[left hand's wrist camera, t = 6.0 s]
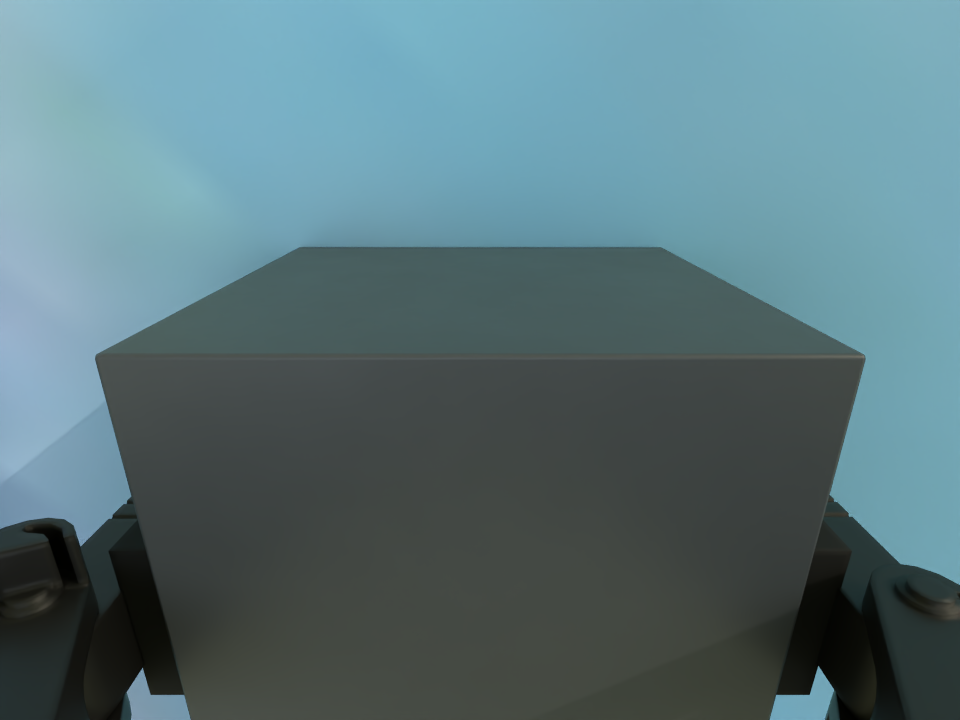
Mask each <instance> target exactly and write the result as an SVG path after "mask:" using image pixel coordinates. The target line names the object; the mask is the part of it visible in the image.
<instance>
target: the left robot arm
mask: <svg viewBox="0 0 960 720" xmlns="http://www.w3.org/2000/svg"><path fill="white" fill-rule="evenodd" d="M818 666H819V667H820V669H821V670H822V672H823V673H824V675H825V676H826V678H827V679H828V681H829V682H830V684H831V685H832V687H833V688H834V692H833V696H832V699H831V702H830V705H829V708H828V711H827V714H826V718H825V720H960V585H958V584H956V583H954V582H953V581H951V580H949V579H947V578H945V577H943V576H941V575H939V574H937V573H934V572H931V571H928V570H925V569H922V568H919V567H915V566H909V565H902V564H900V563H899V562H898V561H897V560H896V559H895V558H894V557H892V556H891V555H890V554H889V553H888V552H887V551H886V550H885V549H884V548H883V547H882V546H881V545H880V544H879V543H878V542H877V541H876V540H875V539H874V538H873V537H872V536H871V535H870V534H869V533H868V532H867V531H866V530H865V529H864V528H863V527H862V526H861V525H860V524H859V523H858V522H857V521H856V520H855V519H854V518H853V517H849V515H848V512H847V511H846V510H845V509H844V508H843V507H842V506H841V505H840V504H839V503H837V502H834V499H833V498H832V497H831V496H830V495H829V498H828V502H827V506H826V509H825V513H824V517H823V521H822V524H821V528H820V532H819V536H818V540H817V543H816V547H815V551H814V555H813V558H812V562H811V566H810V570H809V573H808V577H807V581H806V585H805V588H804V592H803V596H802V600H801V603H800V607H799V611H798V615H797V618H796V622H795V626H794V630H793V633H792V637H791V641H790V645H789V648H788V652H787V656H786V660H785V663H784V667H783V671H782V675H781V678H780V682H779V686H778V690H777V693H776V695H810V692H811V688H812V685H813V682H814V678H815V675H816V671H817V668H818ZM142 668H143V670H144V673H145V677H146V680H147V683H148V687H149V690H150V694H151V695H184V692H183V688H182V684H181V680H180V677H179V673H178V669H177V665H176V661H175V658H174V654H173V650H172V646H171V643H170V639H169V635H168V631H167V628H166V624H165V620H164V616H163V613H162V609H161V605H160V601H159V598H158V594H157V590H156V586H155V582H154V579H153V575H152V571H151V567H150V564H149V560H148V556H147V552H146V549H145V545H144V541H143V537H142V534H141V530H140V526H139V522H138V519H137V515H136V511H135V507H134V503H133V500H132V497H130V498H129V499H128V500H127V504H123V505H122V506H121V507H120V508H119V509H118V510H117V511H116V512H115V513H114V514H113V518H112V519H108V520H107V521H106V522H105V523H104V524H103V525H102V526H101V527H100V528H99V529H98V530H97V531H96V532H95V533H94V534H93V535H92V536H91V537H90V538H89V539H88V540H87V541H86V542H85V543H84V544H83V545H82V546H81V547H80V544H79V541H78V538H77V535H76V532H75V529H74V525H72V524H71V523H69V522H67V521H66V520H64V519H55V518H44V519H36V520H29V521H25V522H21V523H18V524H15V525H11V526H8V527H4V528H2V529H0V720H131V708H130V702H129V699H128V696H127V691H128V689H129V687H130V686H131V684H132V683H133V681H134V680H135V678H136V677H137V675H138V674H139V672H140V671H141V669H142Z"/></svg>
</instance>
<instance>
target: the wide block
mask: <svg viewBox="0 0 960 720" xmlns="http://www.w3.org/2000/svg"><path fill="white" fill-rule="evenodd" d="M95 360H96V364H97V368H98V372H99V376H100V379H101V383H102V387H103V391H104V394H105V398H106V402H107V406H108V409H109V413H110V417H111V421H112V424H113V428H114V432H115V436H116V440H117V443H118V447H119V451H120V455H121V458H122V462H123V466H124V470H125V473H126V477H127V481H128V485H129V488H130V492H131V496H132V500H133V503H134V507H135V511H136V515H137V519H138V522H139V526H140V530H141V534H142V537H143V541H144V545H145V549H146V552H147V556H148V560H149V564H150V567H151V571H152V575H153V579H154V582H155V586H156V590H157V594H158V598H159V601H160V605H161V609H162V613H163V616H164V620H165V624H166V628H167V631H168V635H169V639H170V643H171V646H172V650H173V654H174V658H175V661H176V665H177V669H178V673H179V677H180V680H181V684H182V688H183V692H184V695H185V699H186V703H187V707H188V710H189V714H190V718H191V720H770V716H771V712H772V708H773V705H774V701H775V697H776V693H777V690H778V686H779V682H780V678H781V675H782V671H783V667H784V663H785V660H786V656H787V652H788V648H789V645H790V641H791V637H792V633H793V630H794V626H795V622H796V618H797V615H798V611H799V607H800V603H801V600H802V596H803V592H804V588H805V585H806V581H807V577H808V573H809V570H810V566H811V562H812V558H813V555H814V551H815V547H816V543H817V540H818V536H819V532H820V528H821V524H822V521H823V517H824V513H825V509H826V506H827V502H828V498H829V494H830V491H831V487H832V483H833V479H834V476H835V472H836V468H837V464H838V461H839V457H840V453H841V449H842V446H843V442H844V438H845V434H846V431H847V427H848V423H849V419H850V416H851V412H852V408H853V404H854V401H855V397H856V393H857V389H858V386H859V382H860V378H861V374H862V371H863V367H864V363H865V356H864V354H862V353H860V352H858V351H856V350H854V349H852V348H850V347H848V346H847V345H845V344H843V343H841V342H839V341H837V340H835V339H833V338H831V337H830V336H828V335H826V334H824V333H822V332H820V331H818V330H816V329H814V328H812V327H811V326H809V325H807V324H805V323H803V322H801V321H799V320H797V319H795V318H794V317H792V316H790V315H788V314H786V313H784V312H782V311H780V310H778V309H777V308H775V307H773V306H771V305H769V304H767V303H765V302H763V301H761V300H759V299H758V298H756V297H754V296H752V295H750V294H748V293H746V292H744V291H742V290H741V289H739V288H737V287H735V286H733V285H731V284H729V283H727V282H725V281H724V280H722V279H720V278H718V277H716V276H714V275H712V274H710V273H708V272H706V271H705V270H703V269H701V268H699V267H697V266H695V265H693V264H691V263H689V262H688V261H686V260H684V259H682V258H680V257H678V256H676V255H674V254H672V253H670V252H669V251H667V250H665V249H663V248H397V247H300V248H298V249H296V250H294V251H292V252H290V253H288V254H286V255H284V256H282V257H281V258H279V259H277V260H275V261H273V262H271V263H269V264H267V265H265V266H263V267H262V268H260V269H258V270H256V271H254V272H252V273H250V274H248V275H246V276H245V277H243V278H241V279H239V280H237V281H235V282H233V283H231V284H229V285H227V286H226V287H224V288H222V289H220V290H218V291H216V292H214V293H212V294H210V295H208V296H207V297H205V298H203V299H201V300H199V301H197V302H195V303H193V304H191V305H189V306H188V307H186V308H184V309H182V310H180V311H178V312H176V313H174V314H172V315H171V316H169V317H167V318H165V319H163V320H161V321H159V322H157V323H155V324H153V325H152V326H150V327H148V328H146V329H144V330H142V331H140V332H138V333H136V334H134V335H133V336H131V337H129V338H127V339H125V340H123V341H121V342H119V343H117V344H115V345H114V346H112V347H110V348H108V349H106V350H104V351H102V352H100V353H98V354H97V355H96V357H95Z"/></svg>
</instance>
